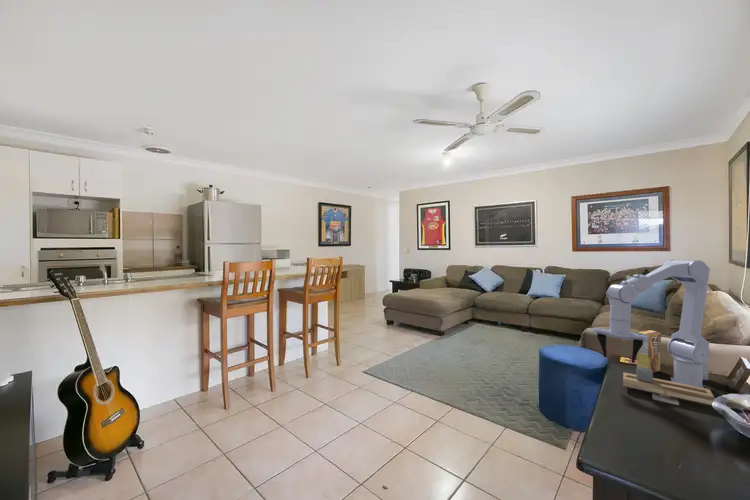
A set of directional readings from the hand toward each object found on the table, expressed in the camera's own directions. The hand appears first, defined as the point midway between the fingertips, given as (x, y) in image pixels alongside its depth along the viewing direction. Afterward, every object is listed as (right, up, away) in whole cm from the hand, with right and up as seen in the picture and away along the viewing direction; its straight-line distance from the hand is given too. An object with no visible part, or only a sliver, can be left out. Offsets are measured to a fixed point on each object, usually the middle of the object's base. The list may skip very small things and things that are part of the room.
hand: (618, 359), depth 110 cm
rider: (+5, -6, -4) cm, 9 cm away
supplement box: (+36, -11, +10) cm, 38 cm away
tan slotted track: (+9, -10, -7) cm, 15 cm away
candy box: (+24, -10, +16) cm, 30 cm away
